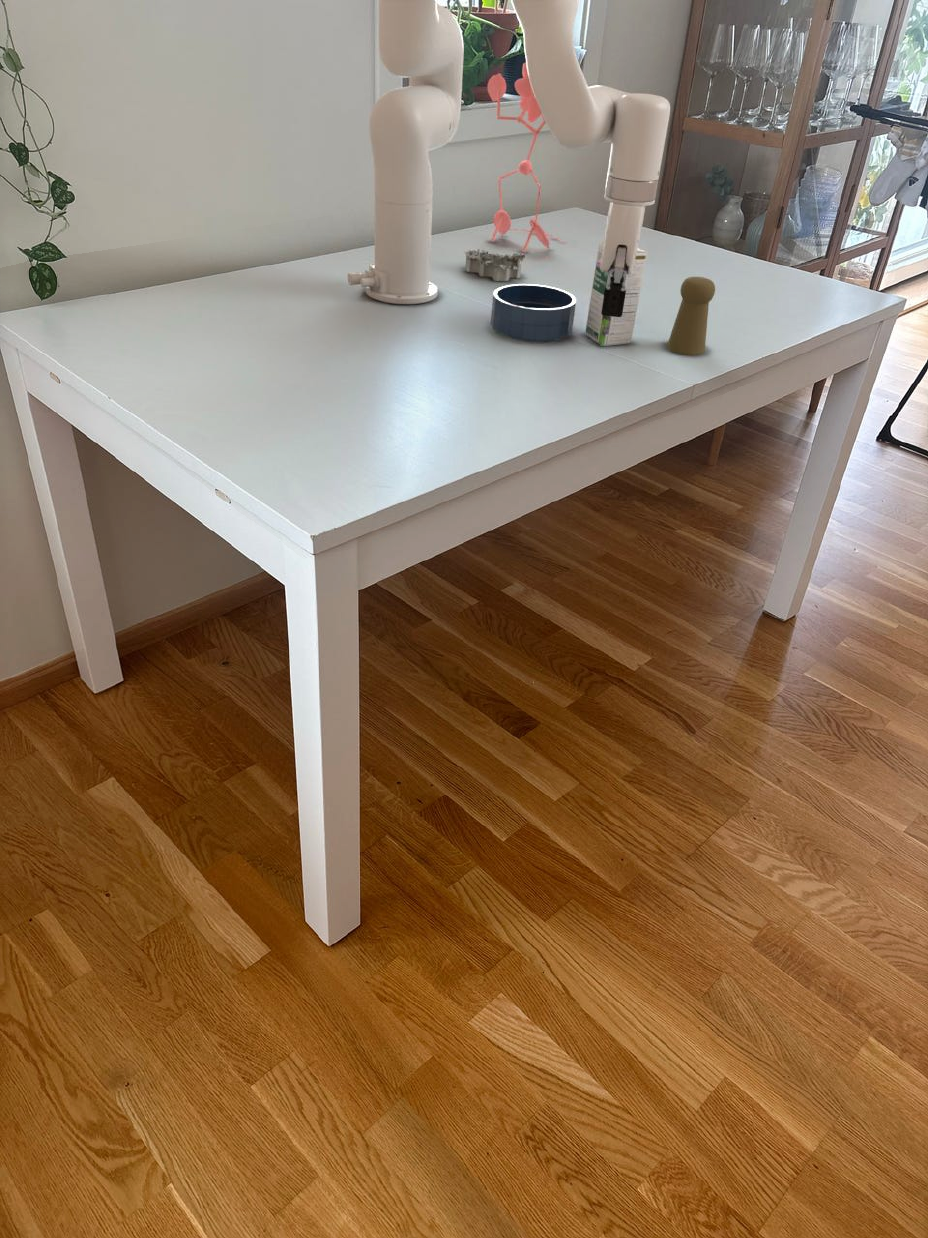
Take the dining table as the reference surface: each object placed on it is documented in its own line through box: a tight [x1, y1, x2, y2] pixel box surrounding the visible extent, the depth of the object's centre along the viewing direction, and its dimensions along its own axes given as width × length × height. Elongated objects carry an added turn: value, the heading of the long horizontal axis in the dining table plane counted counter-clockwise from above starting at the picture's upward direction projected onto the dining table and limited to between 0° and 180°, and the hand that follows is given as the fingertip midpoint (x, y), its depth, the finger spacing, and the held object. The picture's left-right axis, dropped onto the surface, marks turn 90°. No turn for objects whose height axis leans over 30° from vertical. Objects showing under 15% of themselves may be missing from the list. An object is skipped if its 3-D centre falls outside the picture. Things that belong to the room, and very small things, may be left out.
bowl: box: [490, 283, 577, 343], centre depth 151 cm, size 13×13×6 cm
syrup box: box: [584, 242, 648, 347], centre depth 147 cm, size 6×6×14 cm
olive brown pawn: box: [666, 276, 716, 356], centre depth 147 cm, size 6×6×11 cm
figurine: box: [486, 61, 565, 259], centre depth 188 cm, size 15×26×35 cm, turn 44°
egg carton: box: [462, 248, 526, 282], centre depth 177 cm, size 11×8×4 cm
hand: (612, 306), depth 148 cm, fingers open, 9 cm apart
